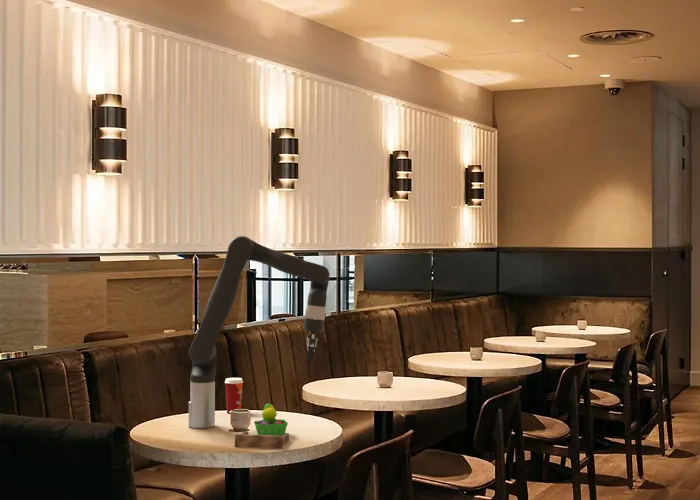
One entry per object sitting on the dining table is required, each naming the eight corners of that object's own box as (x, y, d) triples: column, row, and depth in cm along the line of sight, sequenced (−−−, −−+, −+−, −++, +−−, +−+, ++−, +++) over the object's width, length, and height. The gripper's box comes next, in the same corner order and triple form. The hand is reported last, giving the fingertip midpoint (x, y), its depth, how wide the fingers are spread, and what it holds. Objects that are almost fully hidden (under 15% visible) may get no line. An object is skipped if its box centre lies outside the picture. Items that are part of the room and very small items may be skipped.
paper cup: (243, 414, 392) (243, 380, 392) (224, 414, 391) (224, 380, 391) (242, 410, 400) (242, 377, 400) (224, 411, 399) (224, 377, 398)
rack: (234, 446, 334) (234, 435, 334) (244, 438, 348) (244, 427, 348) (281, 448, 332) (281, 436, 332) (289, 440, 346) (289, 428, 345)
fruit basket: (257, 439, 347) (257, 407, 347) (252, 433, 356) (253, 403, 356) (288, 437, 350) (288, 406, 350) (283, 432, 359) (283, 402, 359)
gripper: (304, 316, 371) (299, 358, 370) (305, 317, 357) (299, 360, 356) (323, 319, 372) (318, 361, 371) (325, 319, 357) (320, 363, 356)
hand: (309, 360), depth 363 cm, fingers open, 8 cm apart
